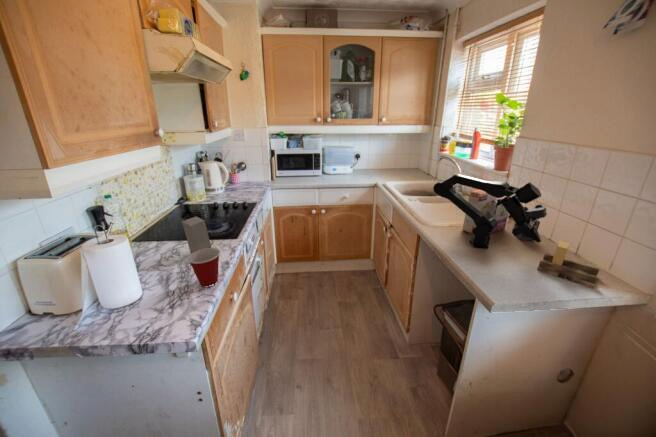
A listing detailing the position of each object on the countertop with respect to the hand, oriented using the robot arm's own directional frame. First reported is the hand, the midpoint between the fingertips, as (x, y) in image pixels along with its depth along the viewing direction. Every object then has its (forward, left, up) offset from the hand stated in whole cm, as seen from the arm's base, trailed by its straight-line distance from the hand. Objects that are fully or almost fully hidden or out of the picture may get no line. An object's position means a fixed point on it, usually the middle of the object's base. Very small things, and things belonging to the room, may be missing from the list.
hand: (539, 242), depth 116 cm
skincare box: (-139, -6, -10) cm, 140 cm away
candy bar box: (-2, +32, -10) cm, 34 cm away
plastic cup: (-126, -26, -10) cm, 129 cm away
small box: (+9, +25, -10) cm, 28 cm away
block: (+6, -5, -8) cm, 11 cm away
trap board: (+8, -7, -9) cm, 14 cm away
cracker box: (-11, +31, -9) cm, 34 cm away
